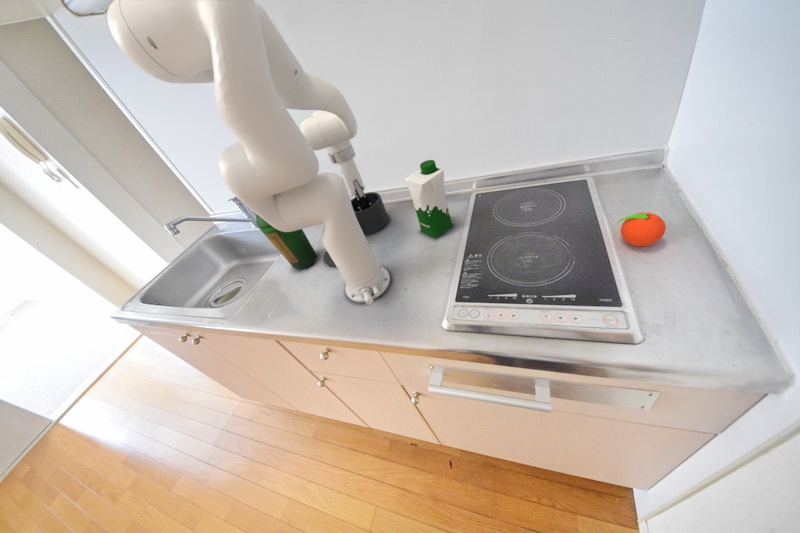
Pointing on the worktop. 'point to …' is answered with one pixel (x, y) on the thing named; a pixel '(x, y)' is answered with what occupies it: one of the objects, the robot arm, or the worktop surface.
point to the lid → (328, 259)
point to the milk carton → (430, 199)
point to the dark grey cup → (371, 214)
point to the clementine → (642, 229)
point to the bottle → (289, 244)
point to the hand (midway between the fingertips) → (364, 206)
